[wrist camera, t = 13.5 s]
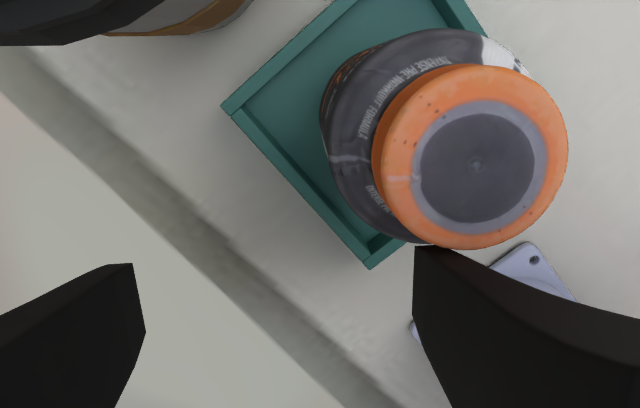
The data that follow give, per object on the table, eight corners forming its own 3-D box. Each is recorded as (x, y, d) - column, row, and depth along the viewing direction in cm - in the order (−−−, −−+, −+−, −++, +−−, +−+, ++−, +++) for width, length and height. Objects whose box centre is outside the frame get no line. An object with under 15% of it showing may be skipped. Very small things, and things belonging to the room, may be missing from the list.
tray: (529, 126, 21) (551, 132, 19) (363, 254, 22) (369, 271, 20) (404, -60, 18) (416, -74, 16) (226, 101, 20) (219, 105, 18)
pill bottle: (406, 18, 18) (555, -62, 8) (468, 133, 20) (665, 203, 9) (292, 96, 19) (279, 124, 8) (360, 201, 21) (424, 339, 10)
